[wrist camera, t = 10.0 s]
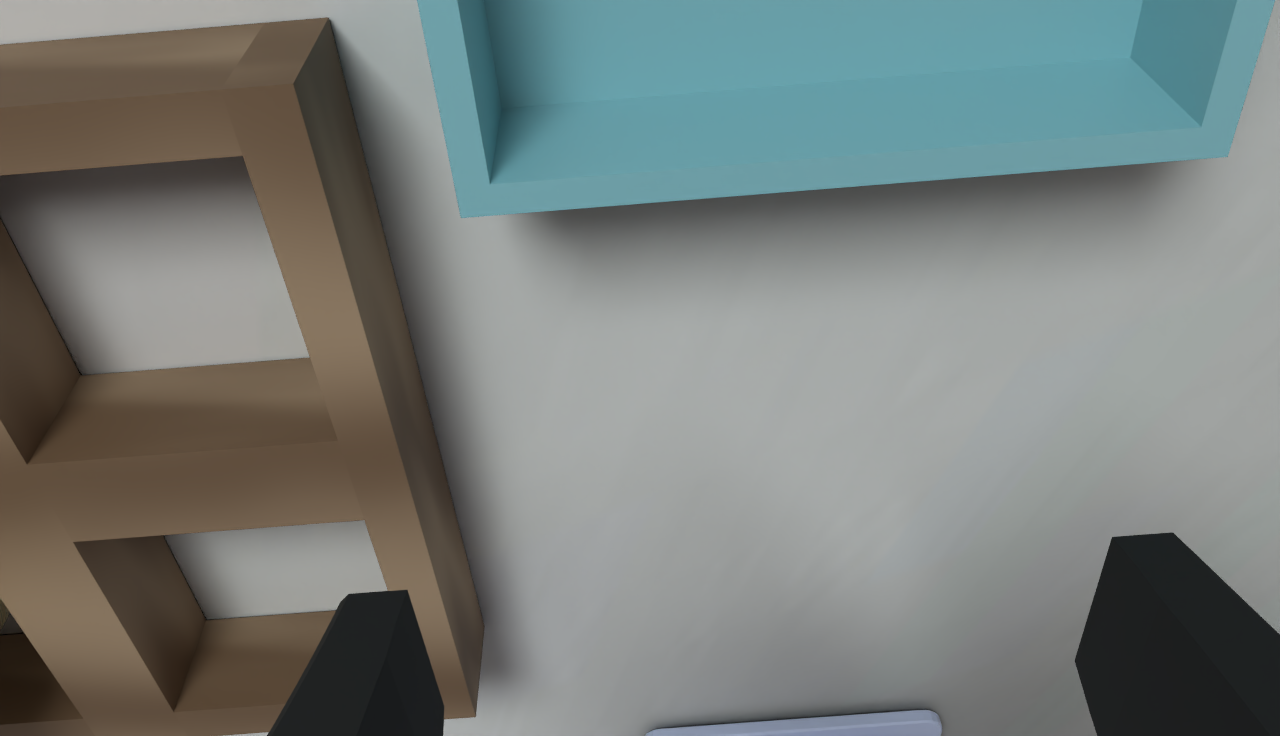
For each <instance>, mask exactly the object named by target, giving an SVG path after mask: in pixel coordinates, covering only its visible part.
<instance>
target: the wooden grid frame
mask: <svg viewBox="0 0 1280 736" xmlns="http://www.w3.org/2000/svg"><path fill="white" fill-rule="evenodd" d="M235 156H243V158H244V161H245V164H246V167H247V170H248V173H249V176H250V179H251V182H252V185H253V188H254V191H255V194H256V197H257V200H258V203H259V206H260V209H261V212H262V215H263V218H264V221H265V224H266V227H267V230H268V233H269V236H270V239H271V242H272V245H273V248H274V251H275V254H276V257H277V260H278V263H279V266H280V269H281V272H282V275H283V278H284V281H285V284H286V287H287V290H288V293H289V296H290V299H291V302H292V305H293V308H294V311H295V314H296V317H297V320H298V323H299V326H300V329H301V332H302V335H303V338H304V341H305V344H306V347H307V350H308V353H309V356H310V358H299V359H286V360H274V361H261V362H248V363H235V364H222V365H210V366H197V367H184V368H171V369H158V370H145V371H133V372H120V373H107V374H94V375H80V373H79V371H78V369H77V368H76V366H75V364H74V362H73V360H72V358H71V356H70V354H69V352H68V350H67V348H66V346H65V344H64V342H63V340H62V338H61V336H60V334H59V332H58V330H57V328H56V327H55V325H54V323H53V321H52V319H51V317H50V315H49V313H48V311H47V309H46V307H45V305H44V303H43V301H42V299H41V297H40V295H39V293H38V291H37V289H36V287H35V286H34V284H33V282H32V280H31V278H30V276H29V274H28V272H27V270H26V268H25V266H24V264H23V262H22V260H21V258H20V256H19V254H18V252H17V250H16V248H15V246H14V245H13V243H12V241H11V239H10V237H9V235H8V233H7V231H6V229H5V227H4V225H3V223H2V221H1V219H0V598H1V600H2V601H3V603H4V604H5V606H6V607H7V609H8V610H9V611H10V613H11V614H12V616H13V617H14V619H15V620H16V622H17V623H18V624H19V626H20V627H21V629H22V630H23V632H24V633H25V634H14V635H1V636H0V736H221V735H235V734H248V733H262V732H270V730H271V728H272V727H273V725H274V723H275V721H276V720H277V718H278V716H279V715H280V713H281V711H282V709H283V707H284V706H285V704H286V702H287V700H288V699H289V697H290V695H291V693H292V692H293V690H294V688H295V686H296V685H297V683H298V681H299V679H300V677H301V676H302V674H303V672H304V670H305V668H306V667H307V665H308V663H309V661H310V659H311V657H312V656H313V654H314V652H315V650H316V648H317V646H318V644H319V642H320V641H321V639H322V637H323V635H324V633H325V631H326V629H327V627H328V625H329V623H330V622H331V620H332V618H333V616H334V614H335V612H336V611H324V612H310V613H297V614H283V615H270V616H256V617H243V618H229V619H216V620H206V619H205V617H204V615H203V613H202V612H201V610H200V608H199V606H198V604H197V602H196V600H195V598H194V596H193V594H192V592H191V590H190V588H189V586H188V584H187V582H186V580H185V578H184V576H183V574H182V572H181V571H180V569H179V567H178V565H177V563H176V561H175V559H174V557H173V555H172V553H171V551H170V549H169V547H168V545H167V543H166V541H165V539H164V537H163V535H172V534H186V533H199V532H212V531H225V530H238V529H252V528H265V527H278V526H291V525H305V524H318V523H331V522H344V521H357V520H365V523H366V526H367V529H368V532H369V535H370V538H371V541H372V544H373V547H374V550H375V553H376V556H377V559H378V562H379V565H380V568H381V571H382V574H383V577H384V580H385V583H386V586H387V589H388V591H396V590H408V593H409V596H410V599H411V603H412V606H413V609H414V612H415V615H416V618H417V622H418V625H419V628H420V631H421V634H422V637H423V640H424V644H425V647H426V650H427V653H428V656H429V659H430V663H431V666H432V669H433V672H434V675H435V678H436V682H437V685H438V688H439V691H440V694H441V697H442V700H443V704H444V719H455V718H468V717H476V709H477V698H478V688H479V678H480V667H481V657H482V647H483V636H484V623H483V619H482V615H481V611H480V607H479V603H478V599H477V595H476V592H475V588H474V584H473V580H472V576H471V572H470V568H469V564H468V560H467V556H466V552H465V549H464V545H463V541H462V537H461V533H460V529H459V525H458V521H457V517H456V513H455V509H454V506H453V502H452V498H451V494H450V490H449V486H448V482H447V478H446V474H445V470H444V466H443V463H442V459H441V455H440V451H439V447H438V443H437V439H436V435H435V431H434V427H433V424H432V420H431V416H430V412H429V408H428V404H427V400H426V396H425V392H424V388H423V384H422V381H421V377H420V373H419V369H418V365H417V361H416V357H415V353H414V349H413V345H412V341H411V338H410V334H409V330H408V326H407V322H406V318H405V314H404V310H403V306H402V302H401V298H400V295H399V291H398V287H397V283H396V279H395V275H394V271H393V267H392V263H391V259H390V255H389V252H388V248H387V244H386V240H385V236H384V232H383V228H382V224H381V220H380V216H379V212H378V209H377V205H376V201H375V197H374V193H373V189H372V185H371V181H370V177H369V173H368V169H367V166H366V162H365V158H364V154H363V150H362V146H361V142H360V138H359V134H358V130H357V126H356V123H355V119H354V115H353V111H352V107H351V103H350V99H349V95H348V91H347V87H346V84H345V80H344V76H343V72H342V68H341V64H340V60H339V56H338V52H337V48H336V44H335V41H334V37H333V33H332V29H331V25H330V21H329V18H318V19H306V20H294V21H282V22H269V23H257V24H245V25H233V26H221V27H209V28H197V29H185V30H173V31H161V32H149V33H137V34H125V35H113V36H100V37H88V38H76V39H64V40H52V41H40V42H28V43H16V44H4V45H0V176H1V175H13V174H25V173H38V172H50V171H62V170H75V169H87V168H99V167H112V166H124V165H136V164H149V163H161V162H173V161H186V160H198V159H210V158H223V157H235Z"/></svg>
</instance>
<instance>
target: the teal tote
mask: <svg viewBox="0 0 1280 736" xmlns="http://www.w3.org/2000/svg"><path fill="white" fill-rule="evenodd" d="M417 2H418V7H419V12H420V17H421V22H422V27H423V32H424V37H425V42H426V47H427V52H428V57H429V62H430V67H431V72H432V77H433V82H434V87H435V92H436V97H437V102H438V107H439V112H440V117H441V122H442V127H443V132H444V136H445V141H446V146H447V151H448V156H449V161H450V166H451V171H452V176H453V181H454V186H455V191H456V196H457V201H458V206H459V211H460V216H461V218H467V217H480V216H492V215H505V214H517V213H530V212H542V211H555V210H568V209H580V208H593V207H605V206H618V205H630V204H643V203H655V202H668V201H680V200H693V199H705V198H718V197H730V196H743V195H755V194H768V193H780V192H793V191H806V190H818V189H831V188H843V187H856V186H868V185H881V184H893V183H906V182H918V181H931V180H943V179H956V178H968V177H981V176H993V175H1006V174H1018V173H1031V172H1044V171H1056V170H1069V169H1081V168H1094V167H1106V166H1119V165H1131V164H1144V163H1156V162H1169V161H1181V160H1194V159H1206V158H1219V157H1228V154H1229V150H1230V147H1231V144H1232V141H1233V137H1234V134H1235V131H1236V127H1237V124H1238V121H1239V118H1240V114H1241V111H1242V108H1243V104H1244V101H1245V98H1246V94H1247V91H1248V88H1249V85H1250V81H1251V78H1252V75H1253V71H1254V68H1255V65H1256V62H1257V58H1258V55H1259V52H1260V48H1261V45H1262V42H1263V38H1264V35H1265V32H1266V29H1267V25H1268V22H1269V19H1270V15H1271V12H1272V9H1273V6H1274V2H1275V0H417Z"/></svg>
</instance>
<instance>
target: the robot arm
mask: <svg viewBox="0 0 1280 736" xmlns="http://www.w3.org/2000/svg"><path fill="white" fill-rule="evenodd" d="M1075 663H1076V667H1077V670H1078V673H1079V677H1080V680H1081V684H1082V687H1083V690H1084V694H1085V697H1086V701H1087V704H1088V707H1089V711H1090V714H1091V717H1092V720H1093V723H1094V726H1095V730H1096V733H1097V736H1280V634H1279V633H1278V632H1277V631H1275V630H1274V629H1273V628H1272V627H1271V626H1270V625H1269V624H1268V623H1267V622H1266V621H1265V620H1264V619H1263V618H1262V617H1261V616H1260V615H1259V614H1258V613H1257V612H1255V611H1254V610H1253V609H1252V608H1251V607H1250V606H1249V605H1248V604H1247V603H1246V602H1245V601H1244V600H1243V599H1242V598H1241V597H1240V596H1239V595H1238V594H1237V593H1236V592H1235V591H1234V590H1233V589H1231V588H1230V587H1229V586H1228V585H1227V584H1226V583H1225V582H1224V581H1223V580H1222V579H1221V578H1220V577H1219V576H1218V575H1217V574H1216V573H1215V572H1214V571H1213V570H1212V569H1211V568H1210V567H1209V566H1208V565H1206V564H1205V563H1204V562H1203V561H1202V560H1201V559H1200V558H1199V557H1198V556H1197V555H1196V554H1195V553H1194V552H1193V551H1192V550H1191V549H1190V548H1189V547H1188V546H1186V545H1185V544H1184V543H1183V542H1182V541H1181V540H1180V539H1179V538H1178V537H1177V536H1176V535H1175V534H1174V533H1160V534H1147V535H1133V536H1120V537H1112V539H1111V543H1110V546H1109V549H1108V553H1107V556H1106V559H1105V563H1104V566H1103V569H1102V572H1101V576H1100V579H1099V582H1098V586H1097V589H1096V592H1095V595H1094V599H1093V602H1092V605H1091V609H1090V612H1089V615H1088V618H1087V622H1086V625H1085V628H1084V632H1083V635H1082V638H1081V642H1080V645H1079V648H1078V651H1077V655H1076V658H1075ZM443 725H444V704H443V700H442V697H441V694H440V691H439V688H438V685H437V682H436V678H435V675H434V672H433V669H432V666H431V663H430V659H429V656H428V653H427V650H426V647H425V644H424V640H423V637H422V634H421V631H420V628H419V625H418V622H417V618H416V615H415V612H414V609H413V606H412V603H411V599H410V596H409V593H408V590H396V591H382V592H369V593H356V594H348V595H347V596H346V597H345V598H344V599H343V600H342V601H341V602H340V604H339V606H338V608H337V610H336V612H335V614H334V616H333V618H332V620H331V622H330V623H329V625H328V627H327V629H326V631H325V633H324V635H323V637H322V639H321V641H320V642H319V644H318V646H317V648H316V650H315V652H314V654H313V656H312V657H311V659H310V661H309V663H308V665H307V667H306V668H305V670H304V672H303V674H302V676H301V677H300V679H299V681H298V683H297V685H296V686H295V688H294V690H293V692H292V693H291V695H290V697H289V699H288V700H287V702H286V704H285V706H284V707H283V709H282V711H281V713H280V715H279V716H278V718H277V720H276V721H275V723H274V725H273V727H272V728H271V730H270V732H269V733H268V735H267V736H443ZM941 734H942V725H941V722H940V718H939V715H937V714H936V713H935V712H933V711H930V710H911V711H897V712H883V713H869V714H856V715H842V716H828V717H814V718H800V719H786V720H773V721H759V722H745V723H731V724H717V725H704V726H690V727H676V728H662V729H655V730H652V731H650V732H648V733H647V734H646V735H645V736H941Z"/></svg>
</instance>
